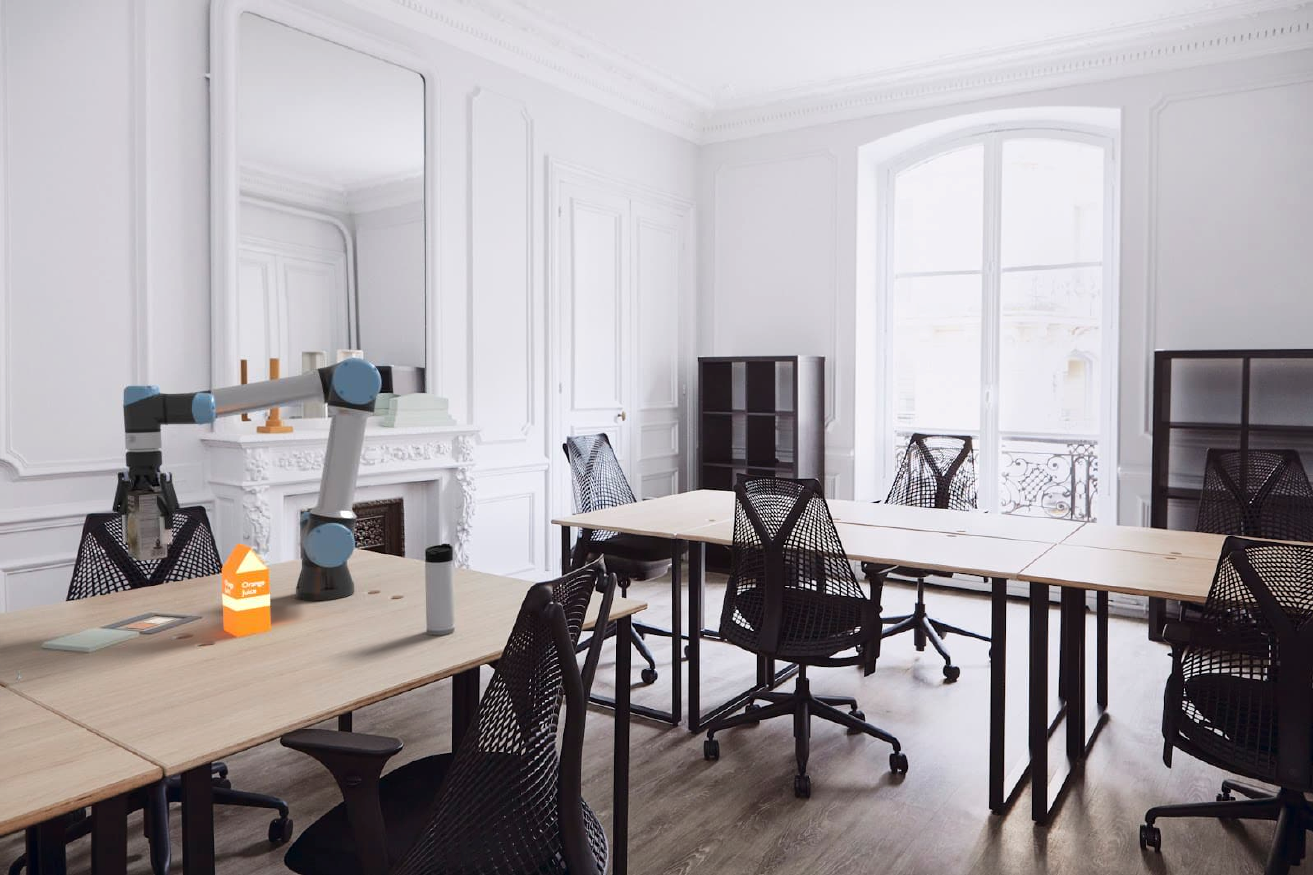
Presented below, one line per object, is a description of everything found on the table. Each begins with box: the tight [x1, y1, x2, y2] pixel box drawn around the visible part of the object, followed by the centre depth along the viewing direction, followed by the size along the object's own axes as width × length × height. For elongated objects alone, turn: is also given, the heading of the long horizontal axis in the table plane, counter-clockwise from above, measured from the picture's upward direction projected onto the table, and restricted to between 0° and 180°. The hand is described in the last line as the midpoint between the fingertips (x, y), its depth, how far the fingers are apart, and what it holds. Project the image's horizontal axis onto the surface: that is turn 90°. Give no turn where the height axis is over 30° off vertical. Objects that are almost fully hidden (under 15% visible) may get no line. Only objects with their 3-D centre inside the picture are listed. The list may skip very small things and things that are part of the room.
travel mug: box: [424, 543, 455, 636], centre depth 206 cm, size 6×7×20 cm
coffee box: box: [125, 489, 168, 562], centre depth 215 cm, size 9×6×16 cm
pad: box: [42, 627, 140, 653], centre depth 201 cm, size 13×13×1 cm
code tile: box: [99, 612, 203, 635], centre depth 216 cm, size 16×15×1 cm
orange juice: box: [221, 543, 272, 638], centre depth 209 cm, size 8×9×20 cm
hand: (147, 542), depth 215 cm, fingers closed on coffee box, 10 cm apart
